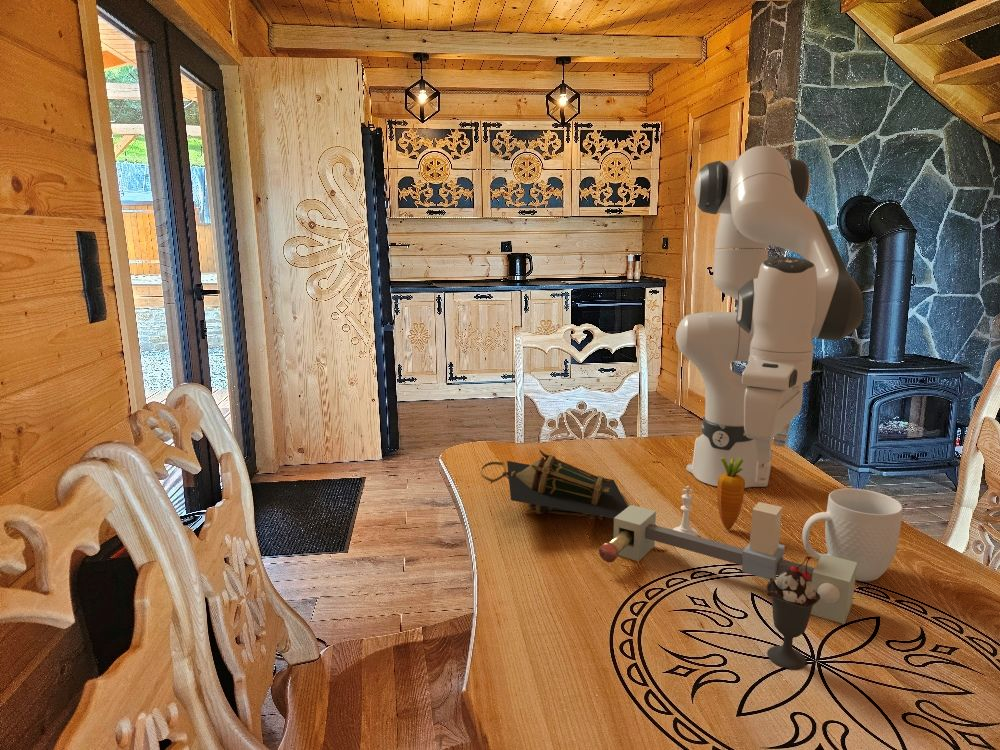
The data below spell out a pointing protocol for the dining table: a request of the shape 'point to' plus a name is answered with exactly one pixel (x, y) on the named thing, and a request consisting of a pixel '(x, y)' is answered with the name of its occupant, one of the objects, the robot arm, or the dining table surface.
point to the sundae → (791, 613)
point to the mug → (859, 530)
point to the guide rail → (827, 577)
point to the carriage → (764, 542)
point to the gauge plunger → (616, 545)
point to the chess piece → (686, 514)
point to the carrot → (730, 493)
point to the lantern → (561, 488)
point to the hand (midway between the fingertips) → (772, 453)
